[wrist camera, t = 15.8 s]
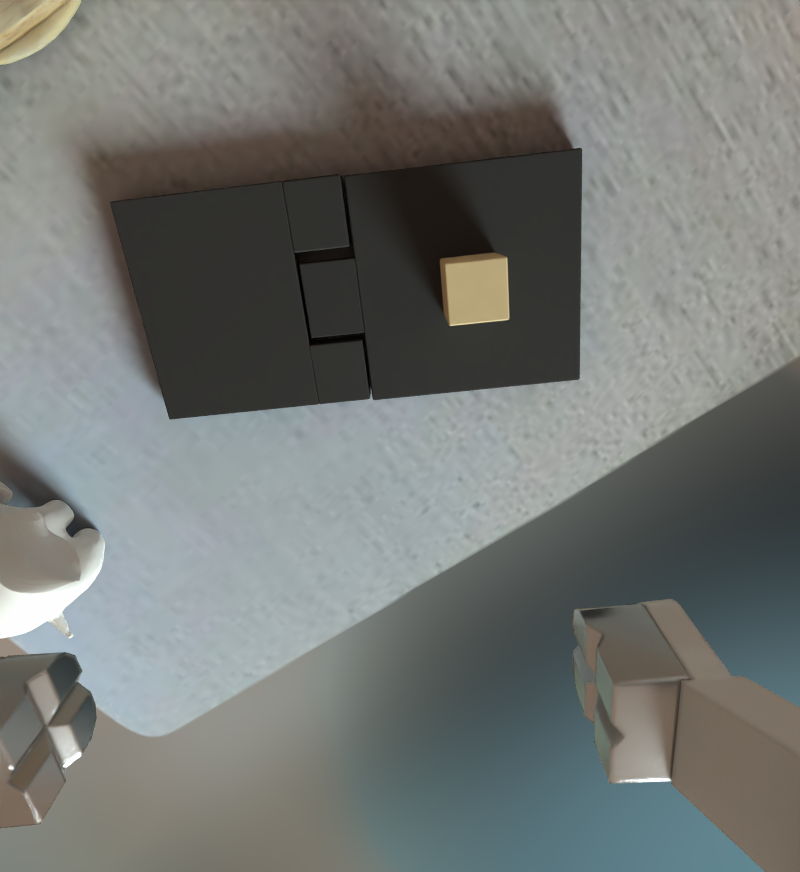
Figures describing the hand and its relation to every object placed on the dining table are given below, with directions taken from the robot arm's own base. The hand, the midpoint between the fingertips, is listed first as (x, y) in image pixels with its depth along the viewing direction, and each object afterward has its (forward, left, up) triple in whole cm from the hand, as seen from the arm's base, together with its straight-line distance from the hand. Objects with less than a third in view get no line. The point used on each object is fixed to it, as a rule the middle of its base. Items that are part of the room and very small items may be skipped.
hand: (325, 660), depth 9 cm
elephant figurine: (+24, +10, -25) cm, 36 cm away
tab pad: (-4, -3, -25) cm, 26 cm away
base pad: (+7, -3, -25) cm, 26 cm away
